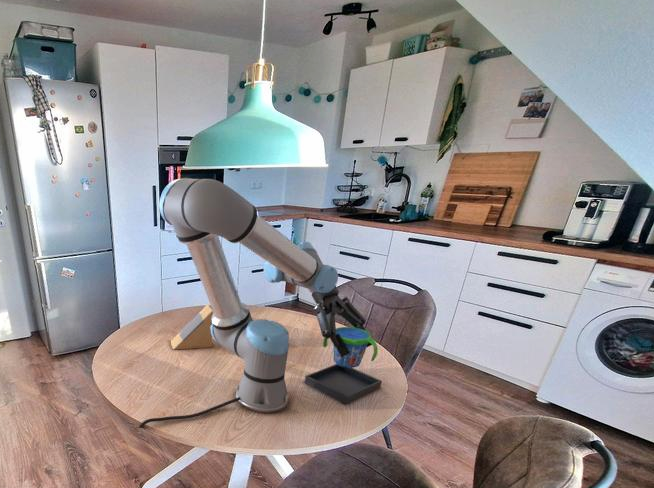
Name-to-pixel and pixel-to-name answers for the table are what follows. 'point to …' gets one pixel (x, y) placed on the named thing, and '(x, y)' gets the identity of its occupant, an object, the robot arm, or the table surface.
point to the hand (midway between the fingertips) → (357, 350)
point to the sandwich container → (196, 332)
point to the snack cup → (352, 346)
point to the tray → (343, 383)
